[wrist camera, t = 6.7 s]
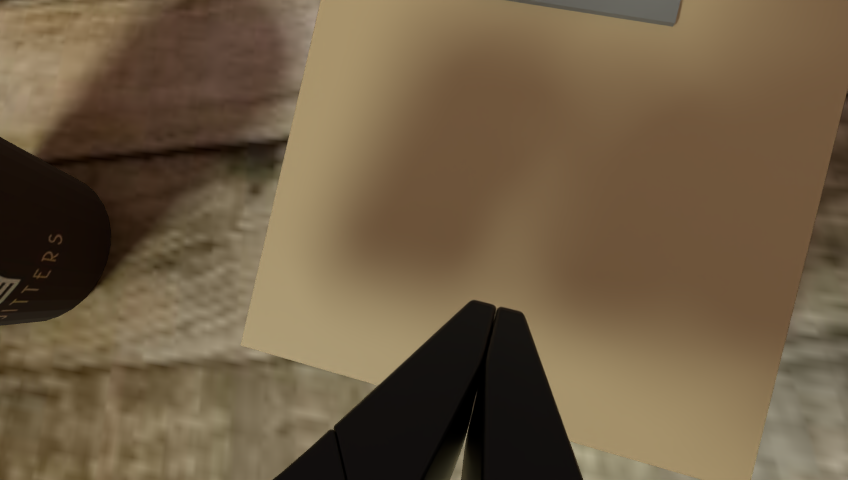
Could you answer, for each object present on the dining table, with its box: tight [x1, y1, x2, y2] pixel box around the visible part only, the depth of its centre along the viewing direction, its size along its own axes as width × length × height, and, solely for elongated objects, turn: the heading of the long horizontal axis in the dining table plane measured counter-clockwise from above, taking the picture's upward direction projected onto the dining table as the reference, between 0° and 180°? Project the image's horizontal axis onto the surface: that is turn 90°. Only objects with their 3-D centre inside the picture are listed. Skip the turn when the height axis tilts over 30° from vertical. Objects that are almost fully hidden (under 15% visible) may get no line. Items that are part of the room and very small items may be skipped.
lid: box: [241, 0, 848, 480], centre depth 14 cm, size 12×13×1 cm
